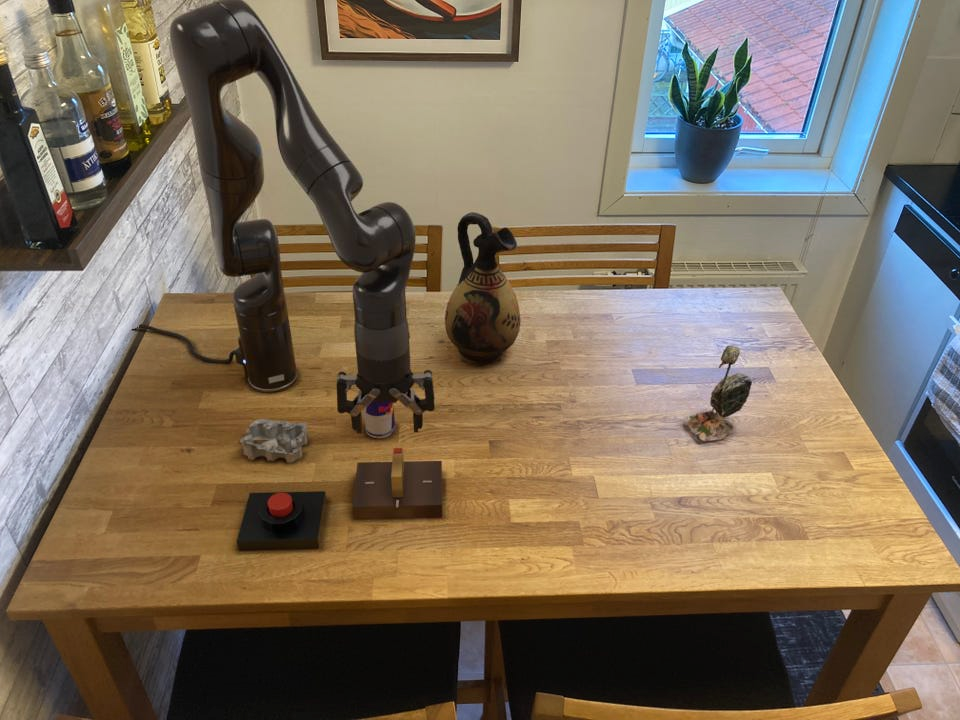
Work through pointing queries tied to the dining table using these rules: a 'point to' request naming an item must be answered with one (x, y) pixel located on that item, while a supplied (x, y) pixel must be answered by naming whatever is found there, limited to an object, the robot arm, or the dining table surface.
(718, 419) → the plant with pod
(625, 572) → the dining table surface
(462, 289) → the ceramic jug
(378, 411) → the energy drink
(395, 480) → the handle
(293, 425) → the egg carton
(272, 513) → the release button
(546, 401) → the dining table surface
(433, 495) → the dark brown flat block
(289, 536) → the button box
